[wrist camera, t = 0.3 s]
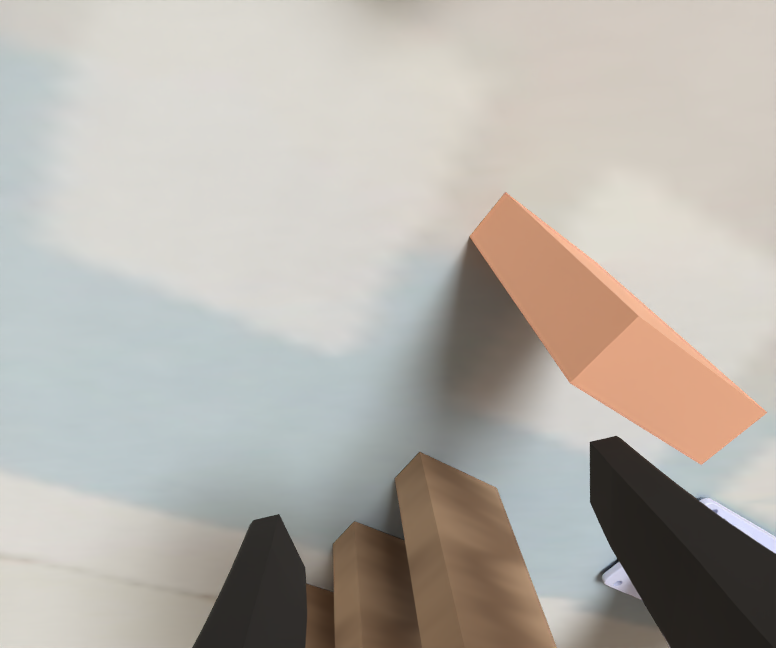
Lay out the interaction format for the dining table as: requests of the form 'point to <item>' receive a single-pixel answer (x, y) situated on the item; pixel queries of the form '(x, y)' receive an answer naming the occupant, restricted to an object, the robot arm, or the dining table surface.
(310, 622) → the walnut domino
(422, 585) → the walnut domino
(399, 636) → the walnut domino
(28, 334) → the dining table surface
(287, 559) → the robot arm
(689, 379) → the terracotta domino
